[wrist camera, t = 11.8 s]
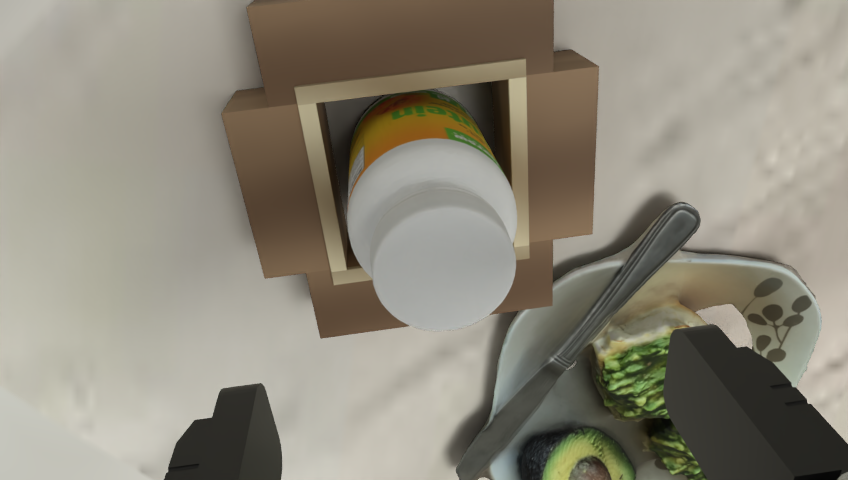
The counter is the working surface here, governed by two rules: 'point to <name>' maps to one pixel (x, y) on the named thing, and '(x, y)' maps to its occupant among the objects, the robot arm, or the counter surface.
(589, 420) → the avocado toast plate
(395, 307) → the supplement bottle
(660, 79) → the counter surface
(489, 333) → the counter surface
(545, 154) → the open cardboard box
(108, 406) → the counter surface
